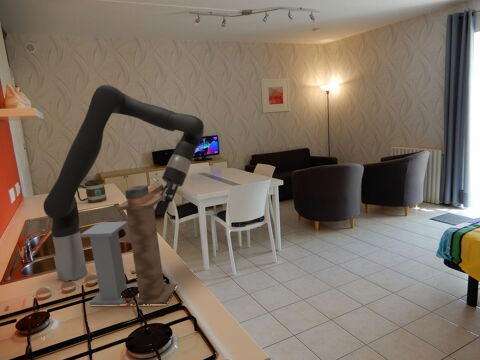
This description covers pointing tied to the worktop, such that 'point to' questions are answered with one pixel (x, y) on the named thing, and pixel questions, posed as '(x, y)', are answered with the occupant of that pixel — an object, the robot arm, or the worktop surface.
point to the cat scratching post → (147, 253)
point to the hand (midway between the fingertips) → (159, 213)
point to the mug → (94, 191)
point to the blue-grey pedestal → (108, 262)
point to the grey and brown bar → (142, 193)
